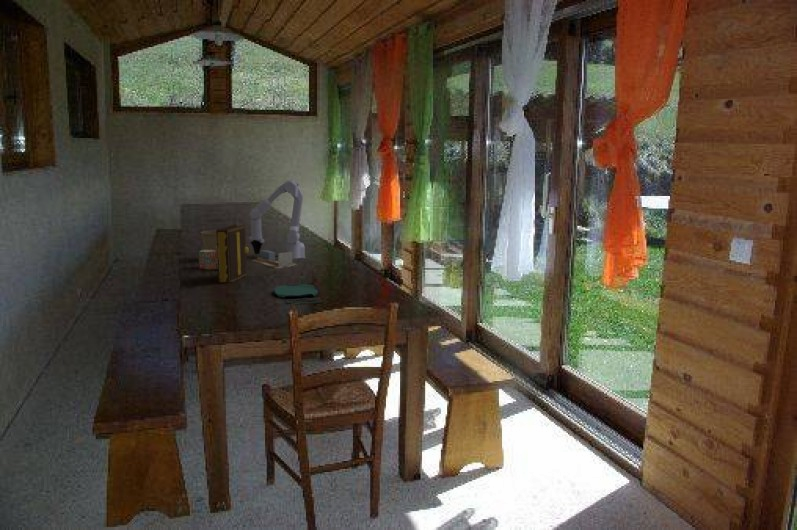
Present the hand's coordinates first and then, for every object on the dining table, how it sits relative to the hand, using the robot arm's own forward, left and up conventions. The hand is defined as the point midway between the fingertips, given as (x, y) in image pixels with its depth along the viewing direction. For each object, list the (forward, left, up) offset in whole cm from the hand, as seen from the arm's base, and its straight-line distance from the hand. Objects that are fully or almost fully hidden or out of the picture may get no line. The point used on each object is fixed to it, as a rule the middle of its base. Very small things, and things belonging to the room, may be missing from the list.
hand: (257, 253), depth 361 cm
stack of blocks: (+28, +15, -3) cm, 32 cm away
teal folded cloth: (+28, +91, -3) cm, 95 cm away
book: (+34, +41, -3) cm, 53 cm away
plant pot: (+21, -8, -3) cm, 23 cm away
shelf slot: (0, +19, -3) cm, 19 cm away
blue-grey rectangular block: (0, +12, -2) cm, 12 cm away
